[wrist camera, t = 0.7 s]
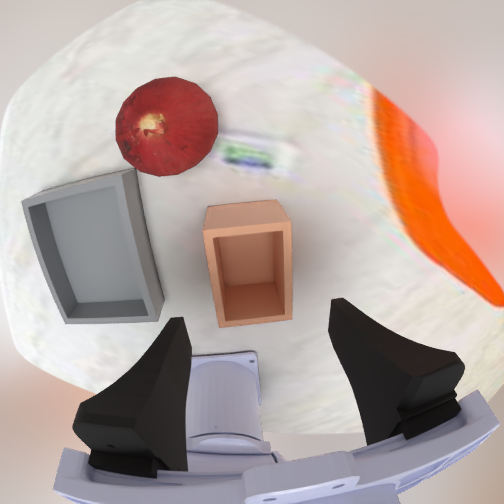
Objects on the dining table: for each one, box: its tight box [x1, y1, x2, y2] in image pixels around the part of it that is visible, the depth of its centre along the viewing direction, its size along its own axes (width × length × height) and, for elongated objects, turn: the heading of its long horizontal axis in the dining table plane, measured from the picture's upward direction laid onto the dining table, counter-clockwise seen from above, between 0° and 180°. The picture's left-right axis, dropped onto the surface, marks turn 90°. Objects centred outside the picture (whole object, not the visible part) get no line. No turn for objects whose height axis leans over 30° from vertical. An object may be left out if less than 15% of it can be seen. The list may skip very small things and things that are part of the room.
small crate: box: [203, 200, 292, 328], centre depth 19 cm, size 7×5×5 cm
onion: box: [116, 77, 218, 177], centre depth 14 cm, size 6×6×8 cm
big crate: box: [21, 168, 164, 324], centre depth 19 cm, size 11×9×3 cm
